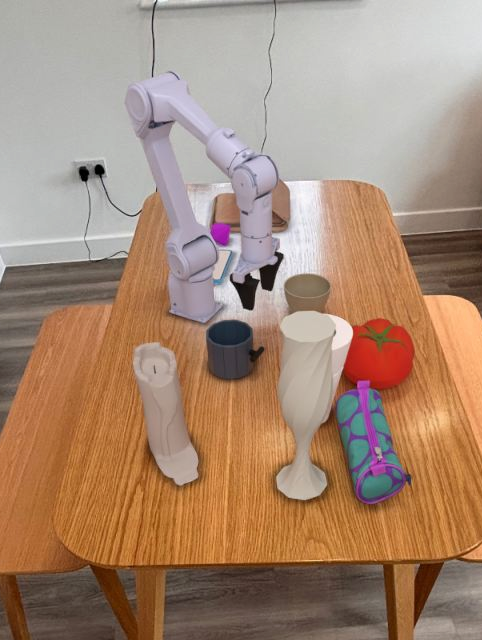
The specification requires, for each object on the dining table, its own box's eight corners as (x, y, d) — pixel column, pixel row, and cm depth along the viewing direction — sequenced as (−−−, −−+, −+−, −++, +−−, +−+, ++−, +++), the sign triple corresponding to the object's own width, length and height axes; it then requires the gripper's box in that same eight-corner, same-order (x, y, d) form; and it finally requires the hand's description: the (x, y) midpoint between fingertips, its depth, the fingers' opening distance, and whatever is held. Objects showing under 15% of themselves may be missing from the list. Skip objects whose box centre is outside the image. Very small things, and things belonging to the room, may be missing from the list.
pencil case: (406, 505, 103) (416, 463, 96) (352, 510, 103) (357, 468, 96) (378, 420, 117) (385, 377, 110) (330, 424, 117) (334, 382, 109)
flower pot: (326, 330, 136) (328, 299, 130) (279, 325, 137) (279, 295, 132) (332, 304, 142) (334, 274, 137) (287, 300, 144) (287, 270, 138)
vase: (274, 464, 110) (273, 310, 87) (322, 460, 111) (333, 305, 88) (279, 502, 105) (280, 347, 82) (330, 498, 105) (344, 343, 82)
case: (290, 233, 164) (291, 167, 152) (208, 234, 165) (203, 168, 152) (290, 198, 177) (291, 134, 165) (214, 198, 178) (210, 135, 166)
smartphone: (233, 250, 157) (221, 280, 147) (233, 254, 158) (221, 285, 148) (203, 248, 158) (189, 278, 148) (203, 253, 159) (190, 283, 149)
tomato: (348, 406, 120) (353, 362, 112) (328, 354, 130) (331, 311, 123) (422, 397, 121) (431, 353, 113) (396, 346, 131) (403, 303, 124)
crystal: (228, 235, 164) (227, 217, 160) (232, 245, 161) (231, 227, 157) (208, 238, 163) (206, 220, 160) (212, 248, 160) (210, 230, 156)
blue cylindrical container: (200, 371, 127) (197, 339, 122) (223, 347, 132) (221, 315, 127) (249, 387, 124) (247, 354, 118) (271, 361, 129) (270, 329, 123)
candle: (169, 489, 107) (151, 396, 92) (145, 438, 115) (124, 344, 100) (209, 476, 109) (198, 382, 94) (182, 427, 117) (168, 333, 102)
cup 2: (278, 427, 116) (279, 344, 103) (296, 392, 123) (299, 308, 109) (335, 440, 114) (343, 356, 100) (350, 403, 120) (360, 319, 106)
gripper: (255, 254, 110) (257, 323, 120) (294, 219, 118) (293, 286, 128) (220, 245, 112) (225, 313, 122) (261, 211, 120) (262, 277, 130)
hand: (257, 299), depth 125 cm, fingers open, 7 cm apart
